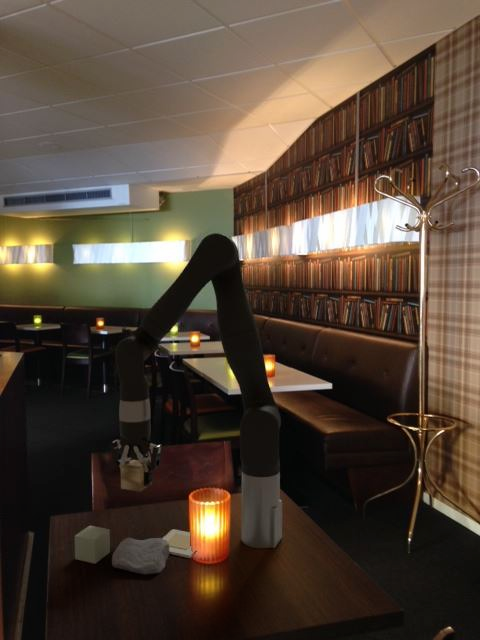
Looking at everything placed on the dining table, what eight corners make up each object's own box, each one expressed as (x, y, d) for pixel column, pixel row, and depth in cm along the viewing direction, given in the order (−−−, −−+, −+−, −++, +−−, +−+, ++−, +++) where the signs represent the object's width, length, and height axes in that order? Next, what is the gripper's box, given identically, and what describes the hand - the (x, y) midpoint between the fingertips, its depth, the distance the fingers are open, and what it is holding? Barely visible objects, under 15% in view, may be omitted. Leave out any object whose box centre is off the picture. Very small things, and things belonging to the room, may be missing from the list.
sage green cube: (109, 552, 122) (109, 529, 122) (95, 564, 117) (94, 540, 117) (90, 548, 124) (90, 525, 124) (75, 559, 119) (74, 535, 119)
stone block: (161, 583, 113) (172, 551, 123) (159, 564, 112) (170, 533, 121) (108, 582, 114) (122, 550, 124) (105, 563, 113) (120, 533, 123)
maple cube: (152, 483, 132) (151, 462, 132) (140, 491, 127) (139, 469, 127) (133, 480, 134) (132, 459, 134) (121, 488, 129) (120, 466, 129)
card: (208, 538, 129) (208, 535, 129) (190, 558, 120) (190, 554, 120) (172, 531, 133) (172, 528, 132) (152, 550, 123) (152, 546, 123)
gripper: (168, 415, 131) (169, 482, 132) (119, 411, 136) (120, 475, 137) (152, 423, 124) (154, 493, 125) (101, 418, 129) (103, 485, 130)
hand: (136, 483), depth 131 cm, fingers closed on maple cube, 5 cm apart
